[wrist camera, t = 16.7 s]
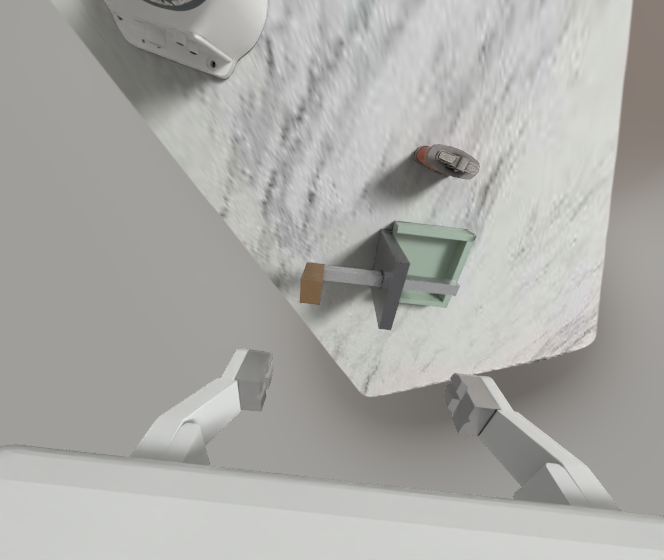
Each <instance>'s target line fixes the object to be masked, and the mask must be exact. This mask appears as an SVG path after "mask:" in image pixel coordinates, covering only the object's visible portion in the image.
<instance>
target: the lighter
mask: <svg viewBox="0 0 664 560" xmlns="http://www.w3.org/2000/svg"><path fill="white" fill-rule="evenodd" d="M414 158H415V161H416V162H417V163H419V164H420V165H421V166H423V167H425V168H426V169H428V170H430V171H433V172H436V173H439V174H444V175H449V176H453V177H457V178H462V179H471V178H473V177H474V176H475V175H476V174H477V173H478V171H479V167H480V166H479V162H478V161H477V160H475V159H474V158H473V157H472V156H470V155H469V154H467V153H465V152H463V151H462V150H459V149H457V148H454V147H451V146H446V145H440V144H438V145H433V146H431V147H430V146H420V147H419V148H418V149H417V150H416V152H415V154H414Z"/></svg>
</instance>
